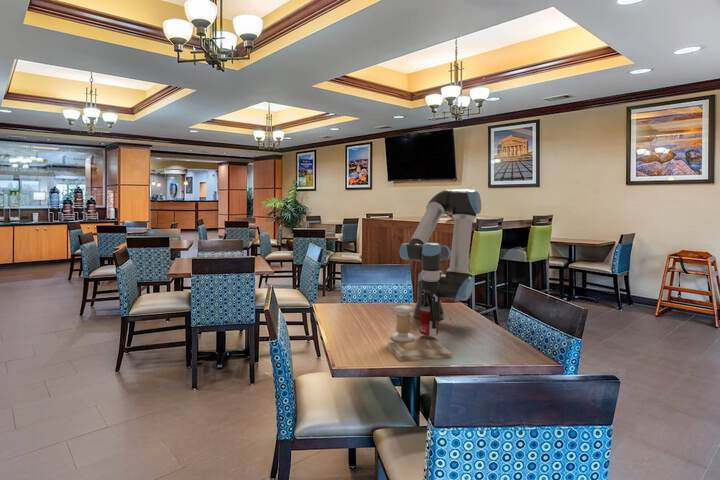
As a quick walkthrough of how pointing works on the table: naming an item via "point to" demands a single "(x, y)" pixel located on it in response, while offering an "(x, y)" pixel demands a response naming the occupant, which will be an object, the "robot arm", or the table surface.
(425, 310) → the canned food
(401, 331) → the bobbin
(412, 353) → the notched board
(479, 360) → the table surface
